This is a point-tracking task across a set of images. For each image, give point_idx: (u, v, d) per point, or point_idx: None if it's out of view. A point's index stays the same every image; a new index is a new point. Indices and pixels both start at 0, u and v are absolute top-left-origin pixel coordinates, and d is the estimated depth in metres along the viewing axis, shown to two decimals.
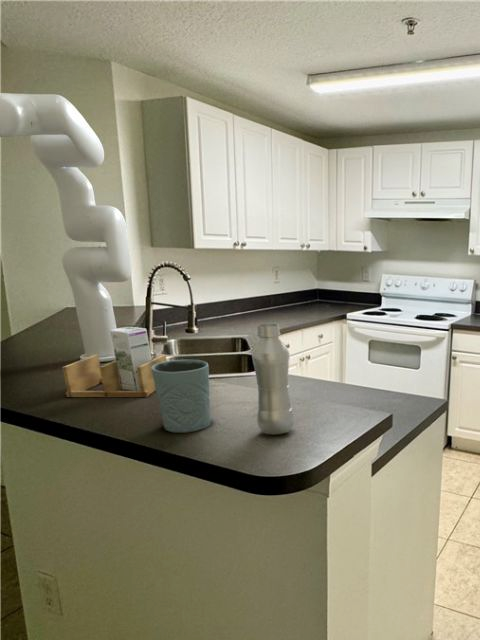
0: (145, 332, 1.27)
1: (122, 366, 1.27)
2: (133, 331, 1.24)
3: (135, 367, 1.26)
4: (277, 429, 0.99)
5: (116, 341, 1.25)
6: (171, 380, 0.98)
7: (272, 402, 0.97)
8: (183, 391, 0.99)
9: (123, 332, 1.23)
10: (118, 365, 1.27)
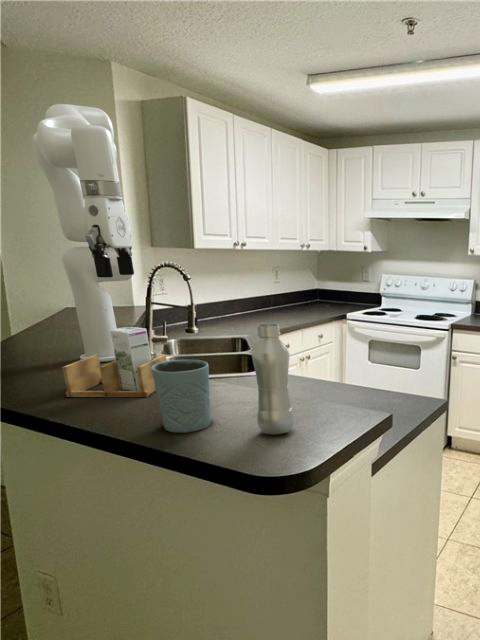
0: (145, 332, 1.27)
1: (122, 366, 1.27)
2: (133, 331, 1.24)
3: (135, 367, 1.26)
4: (277, 429, 0.99)
5: (116, 341, 1.25)
6: (171, 380, 0.98)
7: (272, 402, 0.97)
8: (183, 391, 0.99)
9: (123, 332, 1.23)
10: (118, 365, 1.27)
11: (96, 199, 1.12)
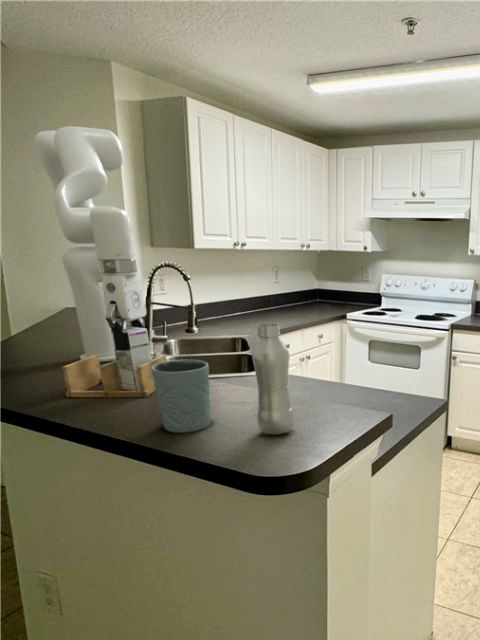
0: (145, 332, 1.27)
1: (122, 366, 1.27)
2: (133, 331, 1.24)
3: (135, 367, 1.26)
4: (277, 429, 0.99)
5: None
6: (171, 380, 0.98)
7: (272, 402, 0.97)
8: (183, 391, 0.99)
9: None
10: (118, 365, 1.27)
11: (113, 277, 1.18)
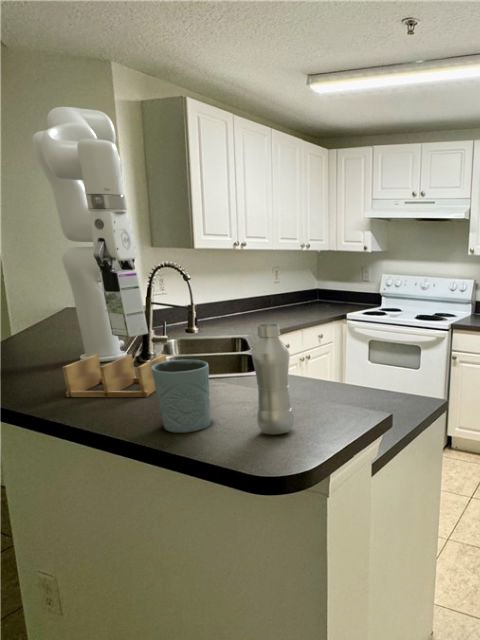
0: (136, 274, 1.23)
1: (112, 309, 1.23)
2: (123, 272, 1.20)
3: (126, 310, 1.22)
4: (277, 429, 0.99)
5: None
6: (171, 380, 0.98)
7: (272, 402, 0.97)
8: (183, 391, 0.99)
9: None
10: (108, 309, 1.23)
11: (102, 213, 1.13)
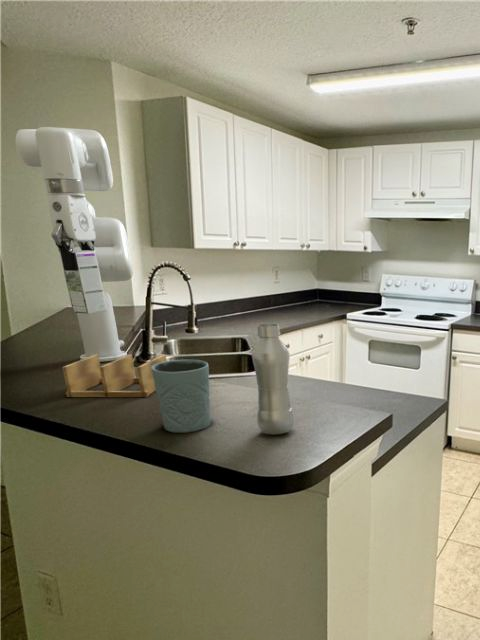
0: (94, 254, 1.31)
1: (72, 287, 1.31)
2: (81, 252, 1.28)
3: (84, 288, 1.30)
4: (277, 429, 0.99)
5: None
6: (171, 380, 0.98)
7: (272, 402, 0.97)
8: (183, 391, 0.99)
9: None
10: (68, 287, 1.32)
11: (59, 196, 1.22)
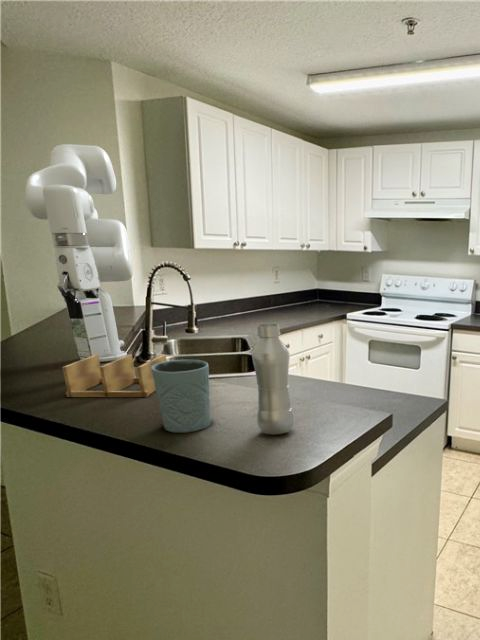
0: (98, 302, 1.36)
1: (77, 334, 1.36)
2: (86, 301, 1.34)
3: (89, 334, 1.35)
4: (277, 429, 0.99)
5: None
6: (171, 380, 0.98)
7: (272, 402, 0.97)
8: (183, 391, 0.99)
9: None
10: (74, 333, 1.37)
11: (65, 249, 1.27)
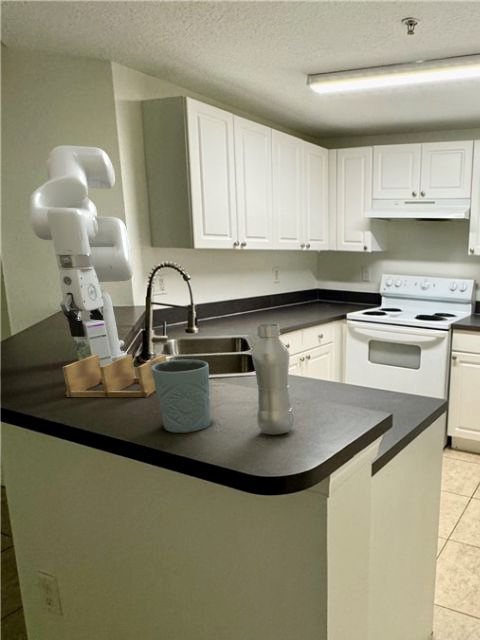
0: (103, 324, 1.38)
1: (82, 355, 1.38)
2: (91, 323, 1.35)
3: None
4: (277, 429, 0.99)
5: None
6: (171, 380, 0.98)
7: (272, 402, 0.97)
8: (183, 391, 0.99)
9: None
10: (78, 354, 1.39)
11: (70, 271, 1.29)
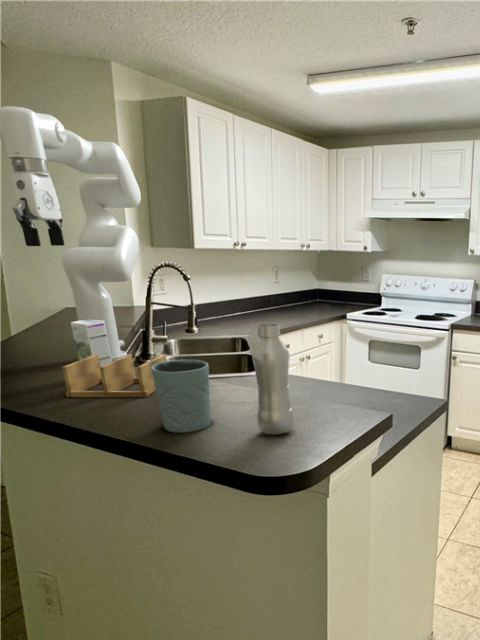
0: (103, 324, 1.38)
1: (82, 355, 1.38)
2: (91, 323, 1.35)
3: None
4: (277, 429, 0.99)
5: (76, 332, 1.36)
6: (171, 380, 0.98)
7: (272, 402, 0.97)
8: (183, 391, 0.99)
9: (82, 324, 1.35)
10: (78, 354, 1.39)
11: (22, 174, 1.24)
